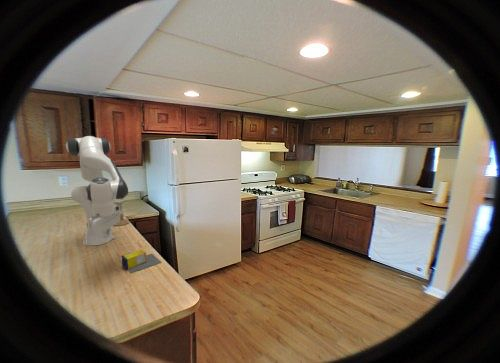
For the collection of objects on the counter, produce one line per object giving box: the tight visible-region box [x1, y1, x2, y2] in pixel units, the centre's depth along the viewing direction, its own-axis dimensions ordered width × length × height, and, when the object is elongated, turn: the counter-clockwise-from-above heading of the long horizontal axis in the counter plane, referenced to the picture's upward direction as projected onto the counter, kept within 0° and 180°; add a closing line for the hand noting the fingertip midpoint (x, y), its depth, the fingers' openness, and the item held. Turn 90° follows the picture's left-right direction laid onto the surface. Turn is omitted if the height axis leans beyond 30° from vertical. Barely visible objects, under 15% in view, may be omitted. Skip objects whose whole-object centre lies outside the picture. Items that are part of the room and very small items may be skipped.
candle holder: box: [112, 198, 129, 227], centre depth 187 cm, size 12×12×20 cm
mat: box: [127, 253, 162, 274], centre depth 126 cm, size 14×16×1 cm
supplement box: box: [120, 249, 147, 270], centre depth 124 cm, size 6×6×11 cm
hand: (106, 237), depth 113 cm, fingers closed
